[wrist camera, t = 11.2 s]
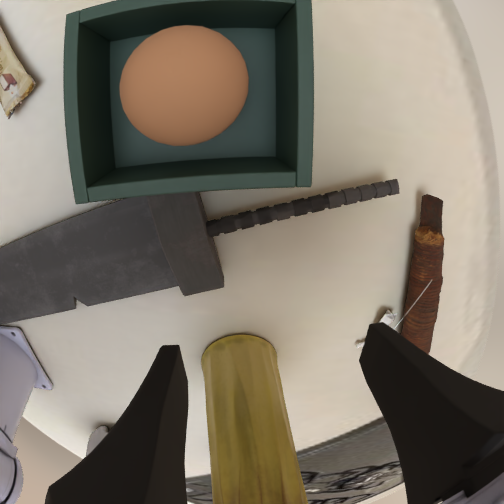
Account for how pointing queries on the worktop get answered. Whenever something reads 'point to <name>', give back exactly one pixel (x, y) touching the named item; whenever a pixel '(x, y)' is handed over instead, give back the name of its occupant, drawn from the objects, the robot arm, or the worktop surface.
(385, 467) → the worktop surface
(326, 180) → the worktop surface
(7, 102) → the snack bar
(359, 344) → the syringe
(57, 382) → the worktop surface
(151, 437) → the robot arm
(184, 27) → the egg
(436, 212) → the hand tool
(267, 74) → the tote
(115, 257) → the flat dark sword
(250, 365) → the vase
